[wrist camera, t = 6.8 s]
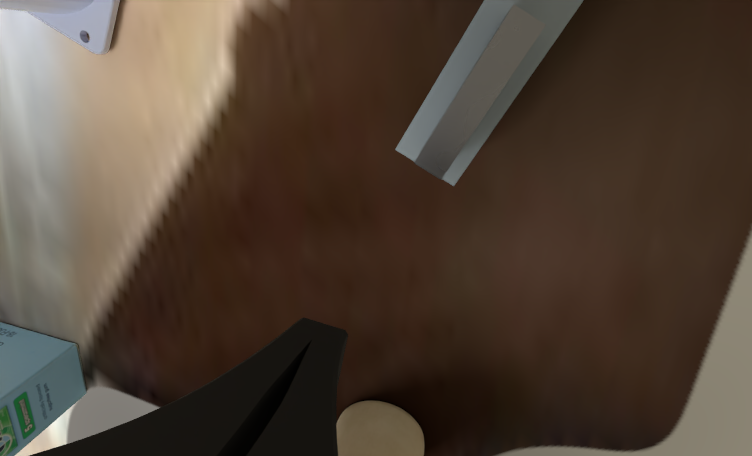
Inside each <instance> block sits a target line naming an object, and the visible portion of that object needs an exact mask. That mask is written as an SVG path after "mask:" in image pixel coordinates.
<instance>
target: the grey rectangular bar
mask: <svg viewBox="0 0 752 456" xmlns="http://www.w3.org/2000/svg"><path fill="white" fill-rule="evenodd" d="M545 26H546V25H545V24H544V23H542V22H541V21H539V20H538V19H536V18H534V17H533V16H531V15H530V14H528V13H527V12H525V11H523V10H522V9H520V8H519V7H517V6H516V5H513V6H512V7H511V9H510V10H509V11H508V13H507V14H506V16H505V18H504V19H503V21H502V22H501V24H500V25H499V27H498V29H497V30H496V32H495V33H494V35H493V37H492V38H491V40H490V41H489V43H488V45H487V46H486V48H485V49H484V51H483V53H482V54H481V56H480V57H479V59H478V60H477V62H476V64H475V65H474V67H473V68H472V70H471V72H470V73H469V75H468V76H467V78H466V80H465V81H464V83H463V84H462V86H461V88H460V89H459V91H458V92H457V94H456V95H455V97H454V99H453V100H452V102H451V103H450V105H449V107H448V108H447V110H446V111H445V113H444V115H443V116H442V118H441V119H440V121H439V123H438V124H437V126H436V127H435V129H434V131H433V132H432V134H431V135H430V137H429V138H428V140H427V142H426V143H425V145H424V146H423V148H422V150H421V151H420V153H419V155H418V157H417V159H416V160H415V162H414V163H415V164H417V165H418V166H420V167H421V168H423V169H425V170H426V171H428V172H429V173H431V174H433V175H434V176H436V177H437V178H439V179H442V178H443V176H444V175H445V173H446V172H447V170H448V169H449V167H450V166H451V164H452V163H453V162H454V160H455V159H456V157H457V156H458V154H459V153H460V151H461V150H462V148H463V147H464V145H465V144H466V142H467V141H468V139H469V138H470V136H471V135H472V133H473V132H474V131H475V129H476V128H477V126H478V125H479V123H480V122H481V120H482V119H483V117H484V116H485V114H486V113H487V111H488V110H489V108H490V107H491V105H492V104H493V102H494V101H495V100H496V98H497V97H498V95H499V94H500V92H501V91H502V89H503V88H504V86H505V85H506V83H507V82H508V80H509V79H510V77H511V76H512V74H513V73H514V71H515V70H516V69H517V67H518V66H519V64H520V63H521V61H522V60H523V58H524V57H525V55H526V54H527V52H528V51H529V49H530V48H531V46H532V45H533V43H534V42H535V40H536V39H537V38H538V36H539V35H540V33H541V32H542V30H543V29H544V27H545Z"/></svg>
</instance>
